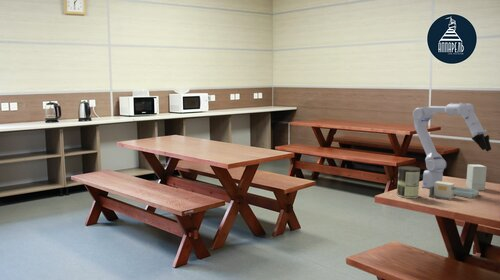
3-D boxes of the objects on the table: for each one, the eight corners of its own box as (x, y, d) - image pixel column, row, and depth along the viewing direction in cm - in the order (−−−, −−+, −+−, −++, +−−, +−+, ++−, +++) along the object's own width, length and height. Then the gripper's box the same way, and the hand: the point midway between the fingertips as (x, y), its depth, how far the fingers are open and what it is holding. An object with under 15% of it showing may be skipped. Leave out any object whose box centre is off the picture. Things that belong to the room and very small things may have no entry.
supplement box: (485, 190, 260) (487, 166, 259) (471, 189, 261) (473, 166, 259) (479, 187, 268) (481, 164, 266) (465, 186, 268) (467, 163, 266)
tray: (445, 193, 251) (445, 189, 250) (451, 190, 258) (452, 186, 258) (473, 198, 242) (473, 193, 242) (478, 194, 250) (478, 190, 250)
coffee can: (393, 196, 243) (395, 168, 242) (400, 192, 252) (402, 165, 250) (414, 199, 238) (416, 170, 236) (421, 195, 246) (423, 167, 244)
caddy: (433, 196, 245) (434, 182, 244) (436, 194, 249) (437, 180, 248) (452, 199, 239) (453, 185, 238) (455, 197, 243) (456, 183, 242)
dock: (429, 196, 243) (429, 186, 243) (436, 192, 252) (437, 183, 251) (449, 200, 237) (450, 190, 237) (456, 196, 246) (457, 186, 245)
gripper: (477, 119, 235) (491, 144, 230) (486, 123, 246) (499, 147, 241) (463, 126, 239) (476, 151, 234) (472, 129, 250) (485, 153, 245)
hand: (487, 149), depth 238 cm, fingers open, 7 cm apart
